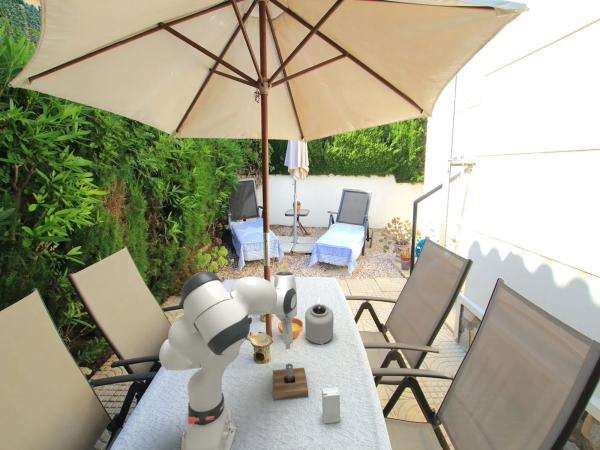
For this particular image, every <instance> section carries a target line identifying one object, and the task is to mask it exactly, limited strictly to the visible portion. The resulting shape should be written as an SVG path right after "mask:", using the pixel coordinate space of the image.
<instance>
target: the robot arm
mask: <svg viewBox="0 0 600 450" xmlns="http://www.w3.org/2000/svg"><path fill="white" fill-rule="evenodd" d="M295 277H296V276H295V274H294V273H292V272H290V271H288V272H281V271H279V272H276V273H275V275H274V283H272V282H270V280H267V279H265V278H262V277H260V276H253V275H252V276H245V277H241V278H239V279H238V280H236V281H235V282H234V283H233V284H232V286H231V287H230V291H228V290H227V288H226V286H224V284H223V283H222V280H221V279H220V277H219V276H218V275H217V274H215V273H214V272H213V271H206V270H205V271H201V272H198V273H196V274H194V275H193V276H190V277H189V278H188V279H186V281H185V282H184V283H183V286H182V289H181V291H180V301H179V303H178V307H179V308H182V309H183V315H181V316H179V318H177V319H175V321H174V322H172V324H171V325H170V327H169V330H168V333H167V334H168V336H167V337H168V338H167V339H166V340H164V342H163V343H162V344H161V347H160V349H159V353H158V354H159V355H158V356H159V358H158V359H159V362H160V364H161V366H162V367H163V368H164V369H165V370H166V371H187V370H194V369H198V370H197V371H196V372H194V373H192V376H191V377H190V378H189V380H188V381H187V397H188V403H187V404H188V405H187V413H186V430H184V431H183V433H182V434H181V446H180V447H181V448H180V450H231V448H232V445H233V443H234V439H235V437H236V433H237V430H238V429H237V427H236V426H235V425H233V424H232V421H231V420H232V419H231V413H230V409H229V408H227V407H226V405H225V395H224V393H223V387H222V386H223V376H224V373H225V371H226V369H228V367H229V366H230V365H231V363H233V362H235V360H236V359H237V358H238V356H239V354H240V352H241V347H242V345H243V344H244V343H245V341H247V339H248V336H249V334H250V330H251V324H252V322H253V318H252V317H251V316H254V317H255V316H256V317H257V316H264V315H267V314H269V315H275V317H276V318H277V319H278V320H279V321H281V331H282V333H281V334H282V341H283V344H284V345H285V350H290V349H291V344H293V343H294V337H293V335H294V334H293V333H294V332H293V322H292V321H293V320H294V318H295V317H297V316H298V307H297V304H298V301H297V298H298V297H297V284H296V283H297V282H296V278H295ZM249 316H250V317H249ZM185 436H186V437H185Z"/></svg>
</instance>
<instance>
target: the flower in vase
mask: <svg viewBox="0 0 600 450" xmlns="http://www.w3.org/2000/svg"><path fill="white" fill-rule="evenodd" d="M289 266H290V265H289V263H288V262H287V261H284V262H282V263H281V265H280V268H279V269H280V270H279V272H289V271H288V270H289V268H290V267H289Z"/></svg>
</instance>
